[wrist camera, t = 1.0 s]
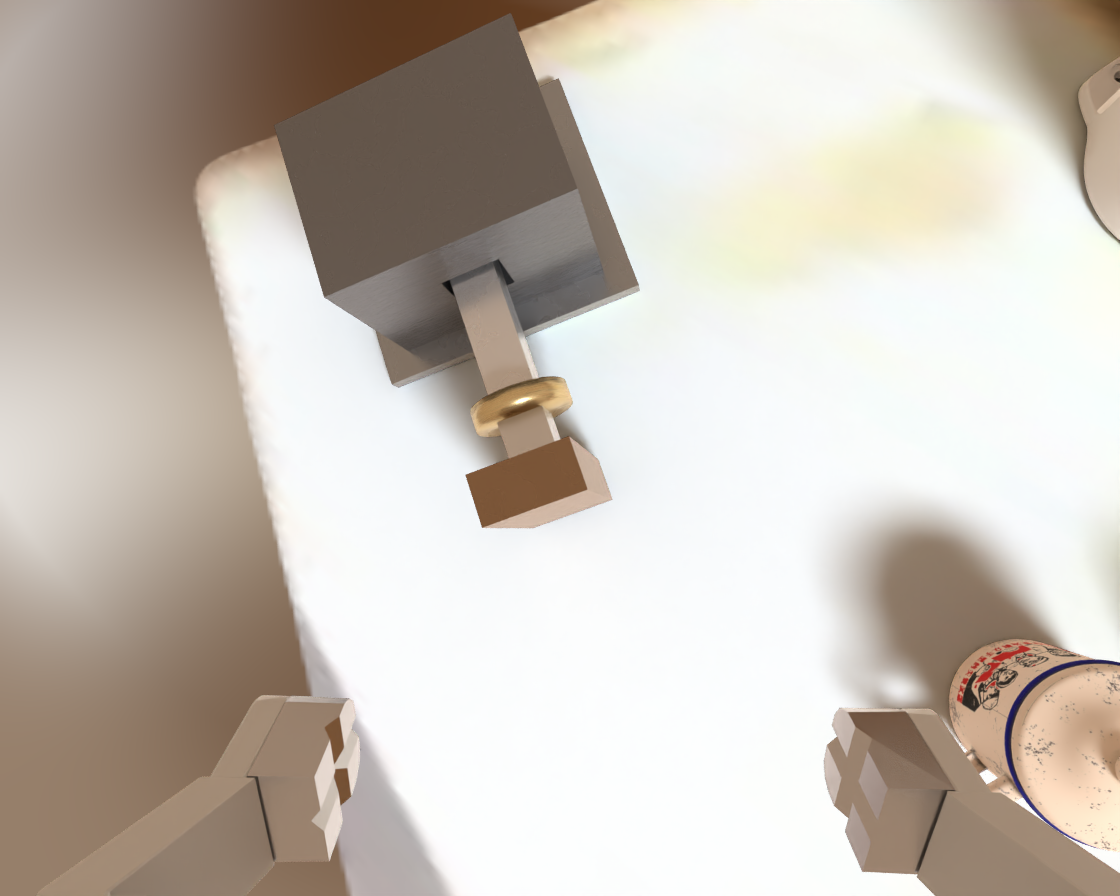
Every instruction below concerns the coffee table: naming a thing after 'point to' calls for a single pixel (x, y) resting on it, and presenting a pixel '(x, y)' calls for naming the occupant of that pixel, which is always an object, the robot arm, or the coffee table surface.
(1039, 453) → the coffee table surface
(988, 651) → the teacup with lid
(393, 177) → the bearing block
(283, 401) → the coffee table surface
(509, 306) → the shaft
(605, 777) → the coffee table surface
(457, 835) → the coffee table surface
